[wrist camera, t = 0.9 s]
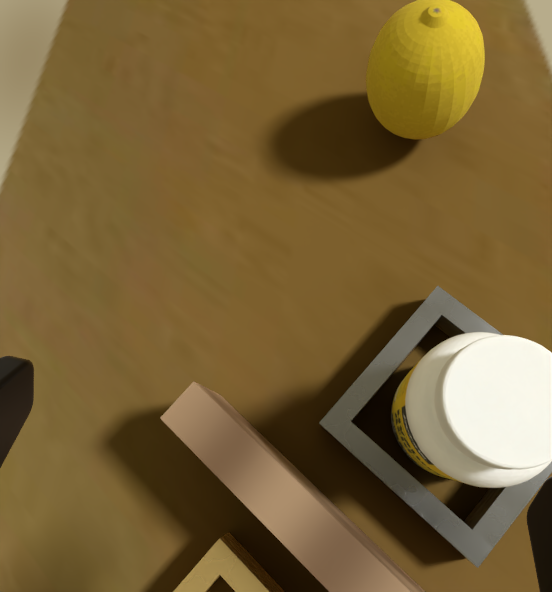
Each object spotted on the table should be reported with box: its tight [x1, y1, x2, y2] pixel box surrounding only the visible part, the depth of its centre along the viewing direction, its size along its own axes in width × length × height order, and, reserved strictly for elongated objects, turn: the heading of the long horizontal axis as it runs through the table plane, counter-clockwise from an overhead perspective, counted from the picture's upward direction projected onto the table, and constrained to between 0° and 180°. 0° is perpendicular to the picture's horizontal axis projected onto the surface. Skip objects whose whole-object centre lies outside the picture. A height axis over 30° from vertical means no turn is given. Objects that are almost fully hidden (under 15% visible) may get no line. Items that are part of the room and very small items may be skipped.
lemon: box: [366, 0, 484, 139], centre depth 26 cm, size 6×6×8 cm
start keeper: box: [319, 286, 552, 568], centre depth 24 cm, size 8×8×2 cm
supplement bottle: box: [391, 332, 552, 488], centre depth 20 cm, size 5×5×10 cm
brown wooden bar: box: [160, 382, 425, 592], centre depth 21 cm, size 18×2×5 cm, turn 47°
